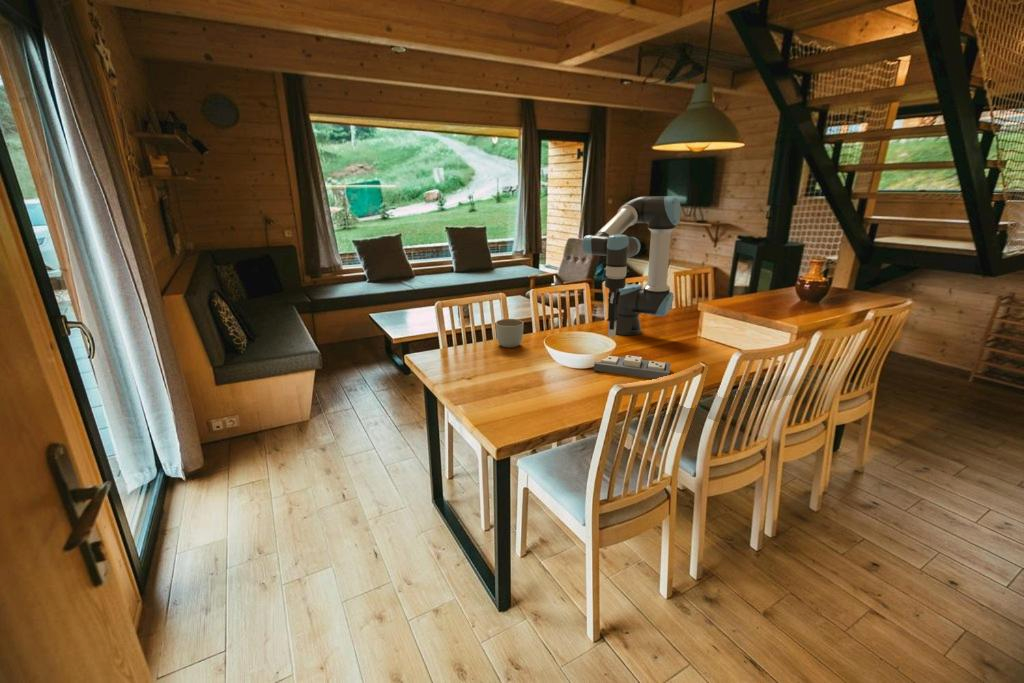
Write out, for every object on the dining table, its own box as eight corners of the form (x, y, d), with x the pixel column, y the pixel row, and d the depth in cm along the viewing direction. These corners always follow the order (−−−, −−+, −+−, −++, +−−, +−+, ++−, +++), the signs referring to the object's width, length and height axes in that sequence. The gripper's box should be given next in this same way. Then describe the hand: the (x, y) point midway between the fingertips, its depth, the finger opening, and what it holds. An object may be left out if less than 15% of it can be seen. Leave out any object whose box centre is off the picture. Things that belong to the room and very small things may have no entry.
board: (599, 361, 195) (599, 354, 194) (670, 370, 186) (670, 363, 185) (593, 370, 185) (594, 363, 184) (668, 380, 176) (669, 373, 175)
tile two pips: (625, 361, 188) (626, 354, 188) (641, 362, 186) (641, 356, 186) (623, 366, 183) (624, 359, 182) (639, 368, 181) (640, 361, 180)
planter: (525, 341, 219) (525, 319, 216) (520, 350, 207) (521, 327, 204) (499, 340, 221) (498, 318, 218) (493, 349, 209) (493, 325, 206)
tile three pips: (648, 366, 186) (649, 360, 185) (664, 368, 184) (665, 362, 183) (647, 372, 180) (647, 365, 180) (663, 374, 178) (664, 367, 178)
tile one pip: (603, 360, 192) (603, 354, 191) (618, 362, 190) (618, 356, 189) (600, 365, 187) (600, 359, 186) (615, 367, 185) (616, 361, 184)
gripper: (608, 273, 184) (605, 330, 192) (602, 279, 172) (598, 340, 180) (628, 274, 181) (623, 332, 189) (623, 281, 170) (618, 342, 178)
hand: (611, 336), depth 185 cm, fingers closed
